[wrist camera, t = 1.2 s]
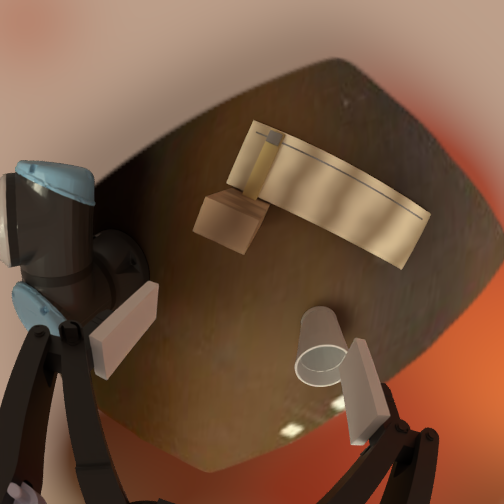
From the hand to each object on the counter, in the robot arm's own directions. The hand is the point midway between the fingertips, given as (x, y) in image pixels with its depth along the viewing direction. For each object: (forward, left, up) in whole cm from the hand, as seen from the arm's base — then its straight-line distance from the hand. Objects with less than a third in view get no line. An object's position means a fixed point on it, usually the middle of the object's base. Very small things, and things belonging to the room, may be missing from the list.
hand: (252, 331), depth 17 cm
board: (+5, +9, -26) cm, 28 cm away
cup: (+13, -11, -27) cm, 32 cm away
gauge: (-6, +7, -26) cm, 28 cm away
